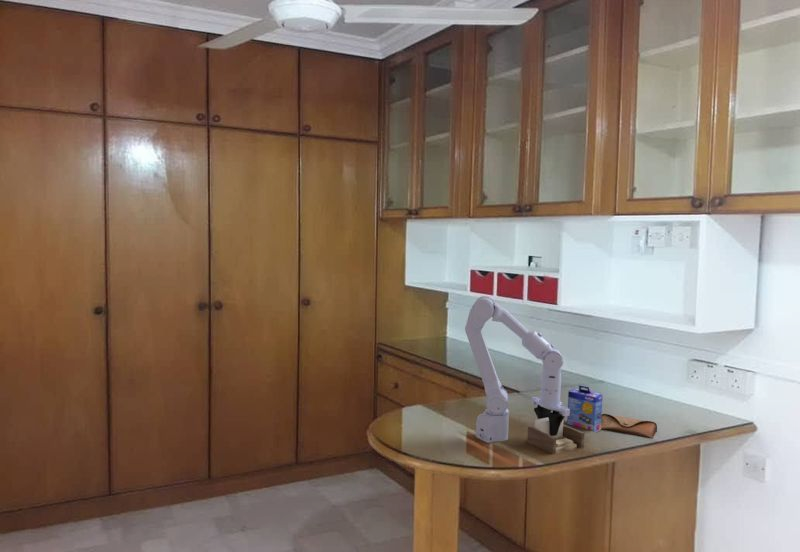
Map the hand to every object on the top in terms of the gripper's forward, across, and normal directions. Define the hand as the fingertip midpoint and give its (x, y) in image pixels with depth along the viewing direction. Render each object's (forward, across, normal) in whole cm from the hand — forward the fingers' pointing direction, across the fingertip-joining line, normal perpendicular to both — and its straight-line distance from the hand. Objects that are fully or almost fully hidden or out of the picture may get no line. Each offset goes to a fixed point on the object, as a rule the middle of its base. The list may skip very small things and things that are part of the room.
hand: (548, 433), depth 192 cm
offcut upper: (+2, -6, 0) cm, 6 cm away
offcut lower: (+3, -6, 0) cm, 6 cm away
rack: (+4, -3, 0) cm, 5 cm away
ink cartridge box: (+4, +7, -22) cm, 23 cm away
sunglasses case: (+4, 0, -33) cm, 34 cm away
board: (+3, 0, 0) cm, 3 cm away
